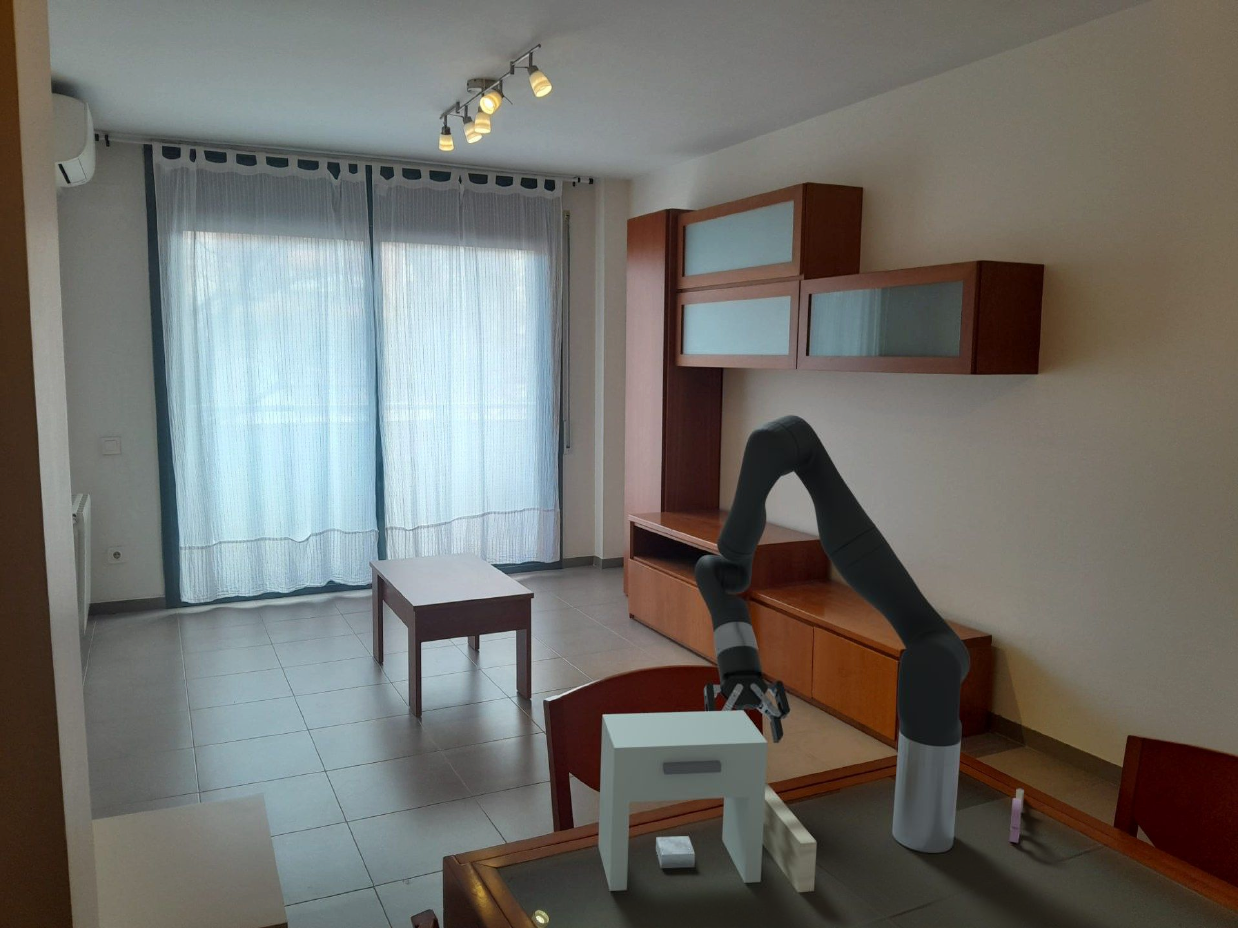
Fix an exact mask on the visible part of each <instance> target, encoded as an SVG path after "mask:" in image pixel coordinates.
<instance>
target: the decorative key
mask: <svg viewBox="0 0 1238 928" xmlns="http://www.w3.org/2000/svg"><path fill="white" fill-rule="evenodd" d="M1015 790H1016V793H1015V797H1013V798H1012V805H1011V814H1010V830H1009V842H1012V843H1016V844H1018V843H1019V838H1020V829H1021V816H1022V813H1023V809H1024V798H1025V797H1024V796H1025V795H1024V794H1025V790H1024V789H1023V788H1020V787H1019V788H1016V789H1015Z"/></svg>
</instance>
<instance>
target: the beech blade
mask: <svg viewBox="0 0 1238 928" xmlns="http://www.w3.org/2000/svg"><path fill="white" fill-rule="evenodd" d="M817 844H818V843H817V840H816V839H815V838H814V837H813V835H811V834H810V832H809V831H808V830H807V829H806V827H804V825H803V824H802V823H801V822H800V821H799V819H798V818H797V817H796V816H795V814H794V813H793V812H792V811H791V810H790V809H789V808H788V806H787V805H786V804H785V802H783V800H782V799H781V798H780V797H779V795H777V793H776V792H775V791H774V789H773V788H772V787H771V786H770V785H769V784H768V783H767V782H766V785H765V804H764V823H763V842H762V846H764V848H765V849H766V850H767V851H768V853H769V854H770V856H771V858H773V860H774V861H775V863H776V864H777V865H778V867H779V869H781V871H782V872H783V874H784V875H785V876H786V878H787V879H788V881H789V882H790V883H791V885H792V886H793V888H794V889H795V890H796V891H797V892H798V893H804V892H813V891H815V878H816V863H817V862H816V860H817V859H816V858H817Z"/></svg>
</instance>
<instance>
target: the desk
mask: <svg viewBox="0 0 1238 928" xmlns="http://www.w3.org/2000/svg"><path fill="white" fill-rule="evenodd" d="M601 721H602V722H601V748H600V749H601V753H600V780H599V781H600V785H599V786H600V787H599V789H600V790H599V813H598V814H599V815H598V816H599V819H598V820H599V821H598V822H599V823H598V850H599V854H600V858H601V863H602V866H603V869H604V873H605V877H606V881H607V885H608V889H609V890H608V891H609V892H611V891H612V892H613V891H616V892H617V891H627V888H628V865H629V864H628V863H629V862H628V858H629V837H630V836H629V832H630V831H629V830H630V829H629V827H630V803H643V802H665V801H688V800H708V799H723V817H722V834H721V835H722V839H721V840H722V842H723V844H724V846H725V848H726V849H727V852H728V854H729V856H730V857H731V860H732V862H733V864H734V865H735V867H736V869H737V871H738V873H739V875H740V878H741V879H742V881H743V883H744V884H746V883H761V881H762V880H761V879H762V862H763V861H762V859H763V858H762V857H763V843H762V842H763V823H764V804H765V785H766V783H767V781H766V780H767V763H768V744H769V743H768V741H767V740H766V738H765V737H764V735H762V733H761V732H760V730H759V729H758V728H757V727H756V726H757V725H755V724H754V722H753V721H752V720H751V719H750V717H749V716H748V715H747V713H746V712H745V711H744V709H743V710H730V711H722V710H716V711H705V710H704V711H680V712H679V711H675V712H674V711H673V712H648V713H647V712H645V713H644V712H641V713H639V712H638V713H611V714H606V713H605V714H602V717H601Z"/></svg>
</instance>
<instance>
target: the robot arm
mask: <svg viewBox="0 0 1238 928" xmlns="http://www.w3.org/2000/svg"><path fill="white" fill-rule="evenodd" d="M791 473H795V475H796V476H797V477H798V479H799V480H800V481H801V483H802V484H803V486H804V488H805V489H806V490H807V493H808V494H809V496H810V498H811V501H812V503H813V506H814V512H815V518H816V525H817V533H818V536H819V537H818V538H819V541H820V543H821V547H822V549H823V551H824V553H825V554H826V556H827V558H828V559H829V561H830V562H831V563H832V565H833V566H834V568H835V569H836V570H837V572H838V574H839V575H840V576H841V578H842V579H843V580H844V581H845V583H847V584H846V585H848V586H849V587H850V588H851V589H852V590H853V591H855V592H856V593H857V594H858V595H859V596H861V597H862V599H864V600H865V601H866V602H868V603H869V604H870V605H871V606H872V607H874V608H875V609H876V610H877V611H878V612H879V613H881V615H883V617H884V618H885V620H887V622H888V623H889V624H890V626H891V627H892V628H893V630H894V631H895V633H896V635H897V636H898V637H899V639H900V640H901V643H902V644H903V646H904V648H905V649H904V651H903V652H902V654H901V657H900V659H899V660H900V661H899V666H898V679H897V680H898V682H897V683H898V684H897V702H896V703H897V706H896V707H897V716H898V719H899V728H898V729H899V730H898V745H897V748H898V749H897V758H896V759H897V760H896V776H895V789H894V790H895V791H894V803H893V815H892V816H893V819H892V836H893V838H894V839H895V840H896V841H897V842H898V843H899V844H901V845H903V846H904V847H906V848H908V849H911V850H915V851H918V852H922V853H927V854H929V853H931V854H932V853H933V854H936V853H937V854H939V853H944V852H947V851H949V850H950V849H951V848H952V847H953V845H954V838H955V837H954V836H955V825H956V824H955V821H956V810H957V808H956V807H957V798H958V783H959V773H960V772H959V771H960V769H959V768H960V760H961V759H960V756H961V743H962V741H961V740H962V732H963V731H962V730H963V724H962V722H961V720H960V703H961V688H962V682H963V681H964V680H965V679H966V677H967V675H969V672H970V667H971V657H970V653H969V651H968V650H969V649H968V648H967V646H966V644H965V643H964V642H963V640H962V638H960V636H959V635H958V634H957V633H956V632H955V631H954V629H953V628H952V627H951V626H950V625H949V623H947V622H946V620H944V618H943V617H942V616H941V615H940V613H939V612H938V611H937V610H936V609H935V608H934V607H933V606H932V604H931V603H930V602H929V600H927V598H926V596H925V595H924V594H923V593H922V592H921V590H920V588H919V586H918V585H917V584H916V582H915V580H914V579H913V578H912V576H911V574H910V573H909V571H908V570H907V569H906V567H905V566H904V564H903V563H902V561H901V560H900V558H899V557H898V556H897V554H896V553H895V552H894V550H893V548H892V547H891V545H890V544H889V542H888V540H887V539H886V537H885V536H884V535H883V534H882V531H880V529H879V528H878V527H877V525H876V524H875V522H874V521H872V519H871V517H870V516H869V515H868V514H867V511H865V510H864V508H863V506H862V505H861V504H860V502H859V501H858V499H857V498H856V496H855V494H854V493H853V492H852V491H851V489H850V487H849V486H848V484H847V483H846V481H845V480H844V479H843V477H842V476H841V474H840V472H839V470H838V469H837V467H836V465H835V464H834V461H833V460H832V458H831V456H830V454H829V453H828V451H827V450H826V448H825V446H824V444H823V443H822V440H821V439H820V437H819V436H818V434H817V432H816V431H815V430H814V428H813V427H812V425H810V424H809V423H808V422H807V421H806V420H805V419H804V418H802V417H800V416H798V415H793V414H789V415H788V414H787V415H784V416H783V417H779V418H776V419H774V420H771V421H768V422H767V423H764V424H761V425H759V426H757V427H756V428H755V429H753V431H751V433H750V434H749V436H748V439H747V442H746V444H745V448H744V451H743V457H742V461H741V466H740V471H739V476H738V480H737V484H736V489H735V492H734V497H733V501H732V504H731V507H730V510H729V512H728V515H727V517H726V519H725V522H724V524H723V526H722V529H721V530H720V534H719V535H718V538H717V541H716V546H717V547H716V548H717V550H718V553H719V554H720V555H718V554H717V555H715V554H706V555H704V556H701V557H700V558H699V559H698V561H697V562H696V564H695V567H694V579H695V580H694V581H695V583H696V584H695V585H696V586H697V589H698V590H699V593H700V595H701V597H702V598H703V601H704V603H705V605H706V607H707V610H708V612H709V615H710V618H711V623H712V629H713V637H714V638H713V639H714V640H713V641H714V642H713V643H714V650H715V651H714V654H715V657H716V662H717V663H716V664H717V670H718V674H719V675H718V676H719V681H720V684H714V683H713V682H711V681H707V683H706V684H705V687H704V688H703V697H704V699H703V700H704V712H705V711H717V709H716V708H717V707H716V702H715V700H716V699H715V698H717V695H718V693H719V695H721V696H722V697H723V698H724V699H725V700H726V702H725V703H724V706H723V707H722V709H721V711H732V709H736V711H738V710H743V711H744V710H745V709H746V710H749V711H751V710H752V711H753V710H758V711H759V712H760V713H761V714H762V715H764V716H766V717H767V719H769V721H770V722H769V725H770V730H771V736H772V741H773V742H772V743H774V744H779V743H780V741H781V740H782V738H783V736H784V729H783V725H782V724H783V723H782V719H786V718H787V716H788V714H789V713H790V712H791V708H790V705H789V700H788V697H787V694H786V690H785V686H784V683H783V681H782V680H779V679H778V680H777V681H776V682H774V683H767V682H766V680H765V679H764V674H763V668H762V662H761V658H760V651H759V647H758V643H757V638H756V636H755V632H754V629H753V625H752V619H751V612H750V610H749V606H748V603H747V601H745V599H743V598H740V597H739V596H736V595H738V594H742V593H744V592H745V591H746V590H747V589H749V587H750V586H751V580H752V569H753V561H754V556H755V553H756V552H755V551H756V550H757V547H758V546H759V543H760V541H761V538H762V537H763V534H764V531H765V529H766V525H767V509H766V508H767V507H766V502H767V499H768V496H769V494H770V492H771V491H772V489H773V487H774V486H775V484H777V481H778V480H779V479H780V478H781V477H784V476H787V475H789V474H791ZM767 692H769V693H770V694H771V696H772V697H774V699H775V704H776V706H775V705H774V704H773V702H772V700H771V699H770V698H769V697H768V696H767V695H766V694H767Z"/></svg>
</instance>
